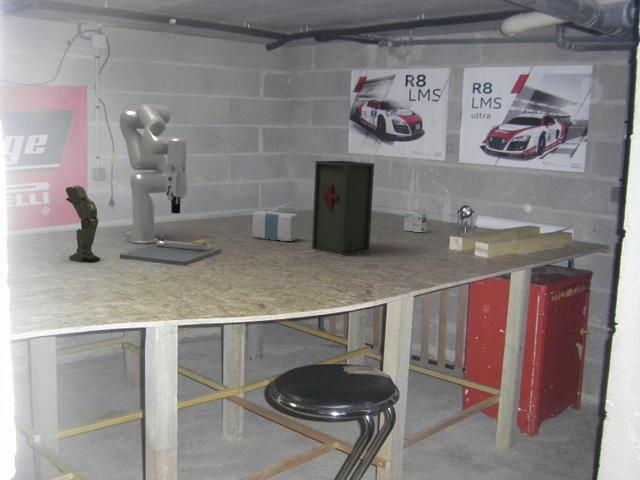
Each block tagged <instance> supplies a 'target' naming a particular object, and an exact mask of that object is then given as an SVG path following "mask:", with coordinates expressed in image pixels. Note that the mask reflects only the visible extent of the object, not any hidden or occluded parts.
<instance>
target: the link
mask: <svg viewBox="0 0 640 480" xmlns="http://www.w3.org/2000/svg"><path fill="white" fill-rule="evenodd" d="M156 244H157V246H158V247H174V248H185V249H196V250H210V249H211V248H212V247H211V246H212V245H211V244H210V245H208V244H201V245H197V244H193V242H182V241H173V240H172V241H171V240H165V234H164V233H160V239H158V241H157V242H156Z"/></svg>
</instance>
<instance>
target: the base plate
mask: <svg viewBox="0 0 640 480" xmlns="http://www.w3.org/2000/svg"><path fill="white" fill-rule="evenodd" d="M221 253H222V248H219V247H217V248H215V247H211V249H210V250H196V249H185V248H174V247H158V246H157V243H154V244H153V245H149V246H144V247H142V248H138V249H134V250H131V251H130V250H129V251H127V252H123V253H120V254H119V259H123V260H132V261H142V262H150V263H157V264H158V263H160V264H166V265H167V264H168V265H176V266H188V265H189V264H193V263H195V262H198V261H201V260H203V259H206V258H210V257H212V256H215V255H217V254H221Z"/></svg>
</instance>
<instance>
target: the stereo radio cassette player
mask: <svg viewBox="0 0 640 480" xmlns="http://www.w3.org/2000/svg"><path fill="white" fill-rule="evenodd" d="M295 201H296V200H295V199H294V200H291V201H289V202H287V203H285V204H282V205H279V206H278V207H275V208H274V209H271V210H269V211H268V210H267V211H266V210H258V211H253V213H252V231H251V232H252V237H253V238H254V239H256V238H257V239H259V238H261V239H260V240H268V239H270V241H277V240H280V241H279V242H286V241H291V242H293V240H294V241H295V240H296V239H297V218H298V214H296V213H290V212H289V213H288V212H276V210H277V209H280V208H283V207H284V206H286V205H289V204H290V203H292V202H295Z"/></svg>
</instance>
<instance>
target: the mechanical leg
mask: <svg viewBox="0 0 640 480" xmlns="http://www.w3.org/2000/svg"><path fill="white" fill-rule="evenodd" d="M65 192H66V194H67V197H66V198H65V200H66V201H68V203H70V204H72V205H73V208H74V210H75V212H76V214H77V215H78V218H79V219H81V220H80V227H81V229H80V228H78V229H77V230H76V231H75V232H76V242H77V248H76V252H74V253H73V254H71V255H69V260H70V261H75V262H83V263H89V264H90V263H92V264H93V263H96V262H101V258H100V257H99V256H97V255H95V254H94V252H93V250H92V246H93V245H94V242H95V241H94V240H95V236H96V232H97V228H98V225H99V218H98V208H97V206H96V204H95V202H94V201H93V200H92V199H90V198H89V197H88V195H87V193H86V190H85V189H84V187H83V186H80V185H73V186H69V187H65Z"/></svg>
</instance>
